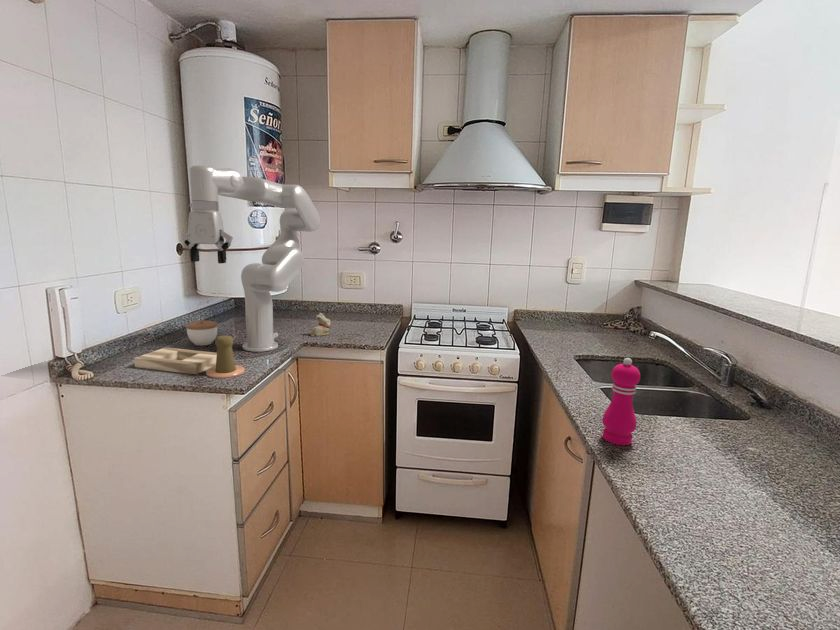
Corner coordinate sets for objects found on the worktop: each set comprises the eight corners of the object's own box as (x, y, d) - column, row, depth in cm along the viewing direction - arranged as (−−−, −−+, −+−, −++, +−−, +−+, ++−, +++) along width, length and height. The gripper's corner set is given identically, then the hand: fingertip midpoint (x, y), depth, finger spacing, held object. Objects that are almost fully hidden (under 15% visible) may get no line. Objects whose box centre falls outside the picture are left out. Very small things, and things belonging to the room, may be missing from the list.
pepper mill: (593, 433, 105) (604, 353, 101) (619, 431, 107) (631, 352, 103) (613, 448, 98) (625, 363, 94) (640, 445, 100) (653, 362, 96)
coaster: (221, 365, 143) (221, 363, 143) (251, 368, 141) (251, 366, 141) (198, 375, 133) (198, 374, 133) (230, 379, 131) (230, 377, 131)
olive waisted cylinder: (213, 373, 133) (211, 338, 131) (217, 367, 139) (215, 334, 137) (234, 372, 135) (233, 338, 133) (237, 366, 141) (235, 333, 138)
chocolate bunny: (327, 337, 183) (327, 314, 182) (309, 336, 184) (309, 313, 182) (331, 334, 189) (331, 311, 187) (313, 333, 189) (313, 310, 187)
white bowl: (223, 340, 172) (222, 317, 171) (210, 347, 162) (208, 323, 160) (196, 339, 173) (195, 316, 171) (181, 346, 162) (179, 321, 160)
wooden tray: (166, 355, 151) (165, 347, 150) (223, 362, 146) (222, 353, 146) (134, 367, 138) (134, 358, 138) (196, 374, 134) (195, 365, 133)
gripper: (172, 206, 134) (176, 261, 138) (222, 207, 131) (225, 264, 135) (189, 207, 142) (193, 260, 145) (237, 208, 138) (239, 262, 142)
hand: (208, 262), depth 140 cm, fingers open, 9 cm apart
